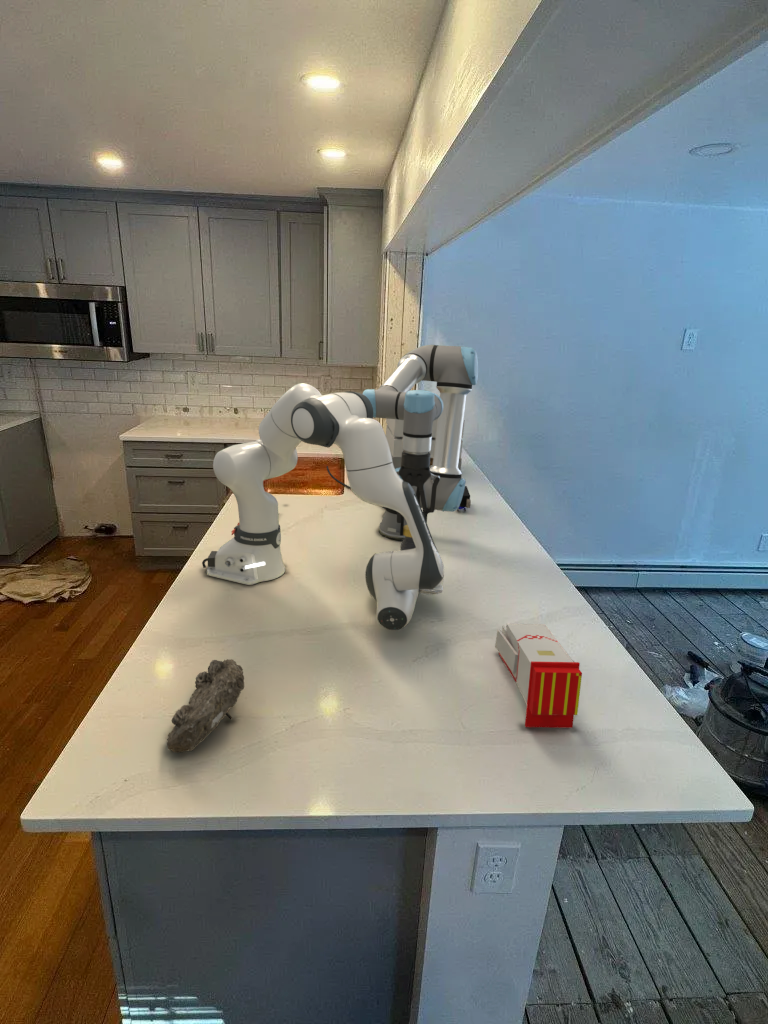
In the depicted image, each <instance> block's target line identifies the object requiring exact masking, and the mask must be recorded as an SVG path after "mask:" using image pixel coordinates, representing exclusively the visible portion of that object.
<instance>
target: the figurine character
mask: <svg viewBox="0 0 768 1024" xmlns="http://www.w3.org/2000/svg"><path fill="white" fill-rule="evenodd" d="M471 501H472V500H471V494H470V491H469V488H468V486H467V485H465V489H464V493H463V497H462V500H461V503H460V505H459V508H458V509H457V510H456V511H457V512H460V510H463V511H464V513H466V512H467V509H470V508H471V505H472V504H471ZM466 508H467V509H466Z"/></svg>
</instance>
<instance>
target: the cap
mask: <svg viewBox="0 0 768 1024" xmlns="http://www.w3.org/2000/svg"><path fill="white" fill-rule="evenodd" d="M403 535H404V536H406V537H412V535H411V533H410V530H409V527H408V525H405V526H404V527H403Z"/></svg>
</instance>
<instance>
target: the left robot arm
mask: <svg viewBox="0 0 768 1024" xmlns="http://www.w3.org/2000/svg"><path fill="white" fill-rule="evenodd" d="M258 435H259V438H258V439H256V440H253V441H248V442H243V443H238V444H237V443H236V444H233V445H230V446H228V447H225V448H223V449H221V450H219V451H217V452H216V454H215V456H214V458H213V462H212V469H213V473H214V475H215V477H216V479H217V480H218V481H219V482H220V483H221V484H222V485H224V486H225V487H226V488H228V489H230V491H231V492H232V494H233V495H234V498H235V500H236V504H237V511H238V519H239V520H238V522H237V523H236V524H237V525H236V526H235V527H233V529H232V530H231V536H233V537H232V538H231V539H229V540H228V541H226V542H224V543H223V544H222V545H221V546H220V547H219V548H218V549H217V550H211V551H210V553H209V555H208V556H207V557H206V558H204V559H203V560H202V561H201V565H202V568H203V569H206V575H207V576H210V577H212V578H218V579H221V580H225V581H229V582H234V583H239V584H243V585H247V586H252V585H255V584H258V583H260V582H261V583H262V582H268V581H271V580H275V579H277V578H280V577H281V576H283V575H284V573H286V566H285V564H284V560H283V555H282V550H281V543H282V532H281V525H280V521H279V520H280V519H279V518H280V517H279V515H280V512H279V502H278V499H277V498H276V497H275V496H274V495H273V494H272V493H270V492H268V491H266V490H265V487H264V481H266V480H270V479H274V478H277V477H281V476H283V475H285V474H287V473H289V472H291V471H292V470H294V469H295V468H296V466H297V464H298V459H299V455H298V451H297V448H298V447H299V445H300V444H301V442H303V443H305V444H309V445H314V446H320V447H324V448H330V447H332V446H333V445H335V446H337V447H338V448H339V449H340V450H341V452H342V455H343V460H344V466H345V472H346V476H347V480H348V484H349V487H351V489H350V491H351V492H352V493H353V495H355V496H356V497H357V498H358V499H360V500H361V501H363V502H364V503H367V504H369V505H373V506H378V507H382V508H383V507H386V508H390V509H393V510H395V511H397V512H399V513H400V514H401V515H402V516H403V517H404V518H405V520H406V522H407V525H408V527H409V530H410V533H411V535H412V538H413V541H414V543H415V546H416V548H414V549H408V550H391V551H383V552H377V553H374V554H373V555H372V556H371V557H370V558H369V560H368V563H367V564H366V568H365V574H364V575H365V583H366V587H367V590H368V593H369V596H370V597H371V598H373V599H374V600H375V601H376V619H377V622H378V624H379V625H380V626H381V627H383V628H385V629H387V630H390V631H398V630H401V629H404V628H405V627H406V626H407V625H408V624H409V623H410V621H411V620H412V617H413V614H414V611H415V608H416V603H417V600H418V597H419V594H422V595H430V596H433V595H434V596H435V595H438V594H439V593H443V591H444V586H443V583H444V577H445V566H444V562H443V559H442V557H441V554H440V553H439V551H438V549H437V546H436V544H435V541H434V539H433V536H432V534H431V531H430V527H429V525H428V521H427V522H426V520H425V517H424V514H423V512H422V511H423V509H422V508H421V506H420V504H419V501H418V499H417V496H416V494H415V492H414V490H413V488H412V487H411V485H410V484H409V483H407V482H404V481H403V480H402V479H401V478H400V477H399V476H398V474H397V472H396V471H395V468H394V465H393V462H392V461H393V460H392V456H391V451H390V448H389V444H388V441H387V438H386V431H385V430H384V428H383V425H382V424H381V423H380V421H378V420H376V418H374V417H373V407H372V404H371V402H370V400H369V399H368V398H367V397H366V396H365V395H363V393H361V392H358V391H351V390H349V391H347V390H346V391H342V392H341V391H339V392H331V393H327V394H322V393H321V392H320V391H319V390H318V389H317V388H316V387H315V386H313V385H311V384H309V383H306V382H305V383H303V382H301V383H296V384H294V385H293V386H292V387H290V388H289V389H288V390H287V391H285V392H284V393H283V394H282V395H281V396H280V397H279V398H278V399H277V401H276V402H274V404H273V406H272V407H271V408H270V409H269V411H268V412H267V413H266V415H265V416H264V418H262V420H261V421H260V422H259V425H258ZM206 562H207V566H206ZM206 567H207V568H206Z"/></svg>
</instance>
